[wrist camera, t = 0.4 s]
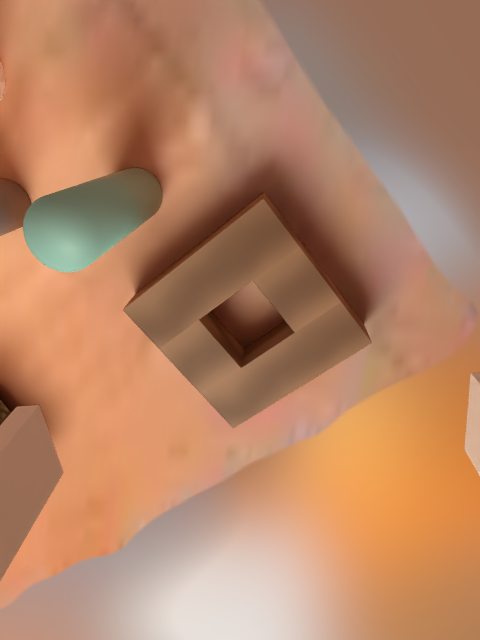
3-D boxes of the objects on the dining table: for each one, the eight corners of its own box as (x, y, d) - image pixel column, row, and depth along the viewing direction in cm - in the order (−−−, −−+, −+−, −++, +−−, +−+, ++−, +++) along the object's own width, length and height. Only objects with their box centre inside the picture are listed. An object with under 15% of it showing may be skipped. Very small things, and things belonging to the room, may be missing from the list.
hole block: (135, 294, 40) (122, 309, 36) (264, 191, 35) (263, 198, 32) (236, 405, 43) (233, 428, 40) (363, 324, 39) (371, 342, 36)
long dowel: (101, 189, 36) (7, 227, 23) (138, 156, 35) (59, 177, 22) (136, 229, 37) (64, 286, 25) (172, 198, 36) (116, 241, 23)
